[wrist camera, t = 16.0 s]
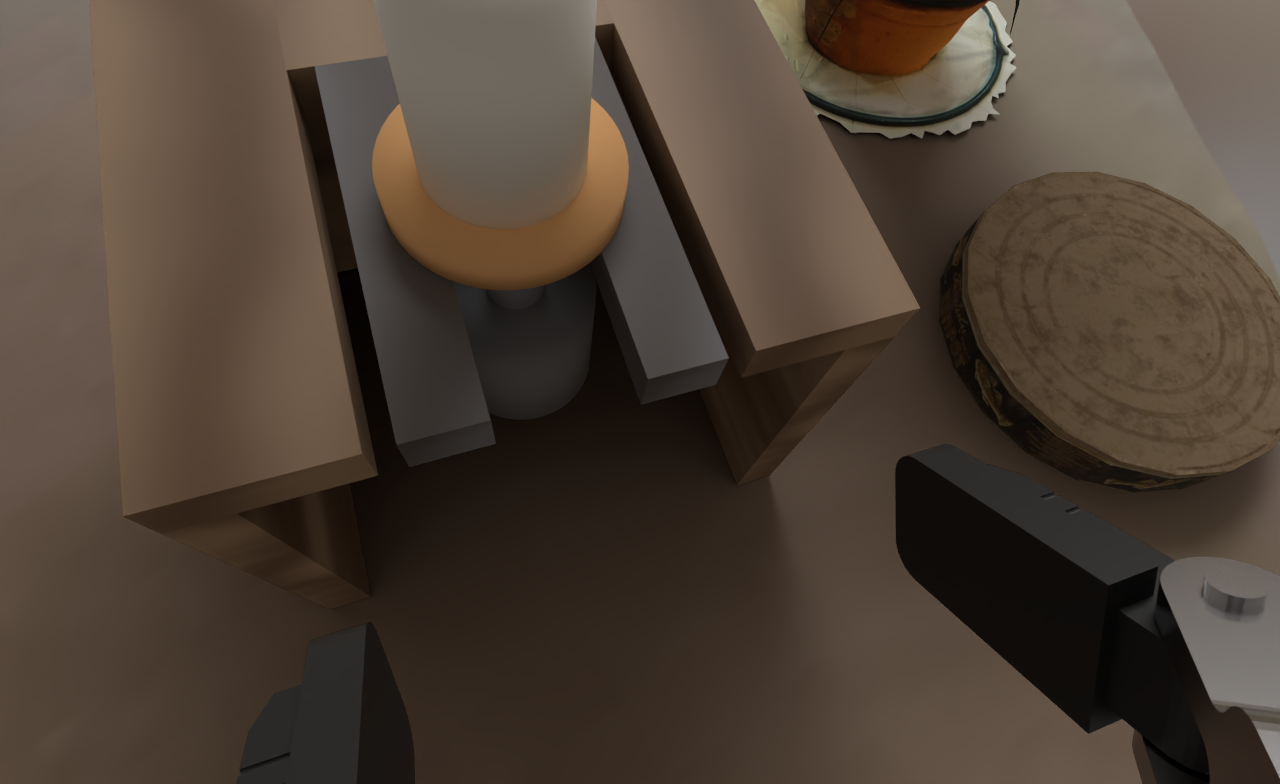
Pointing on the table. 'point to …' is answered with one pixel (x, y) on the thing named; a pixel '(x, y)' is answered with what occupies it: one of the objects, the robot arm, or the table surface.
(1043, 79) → the table surface
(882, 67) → the decorative vase
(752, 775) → the table surface
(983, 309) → the wood slice
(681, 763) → the table surface
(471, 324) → the cylinder with orange collar
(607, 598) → the table surface
